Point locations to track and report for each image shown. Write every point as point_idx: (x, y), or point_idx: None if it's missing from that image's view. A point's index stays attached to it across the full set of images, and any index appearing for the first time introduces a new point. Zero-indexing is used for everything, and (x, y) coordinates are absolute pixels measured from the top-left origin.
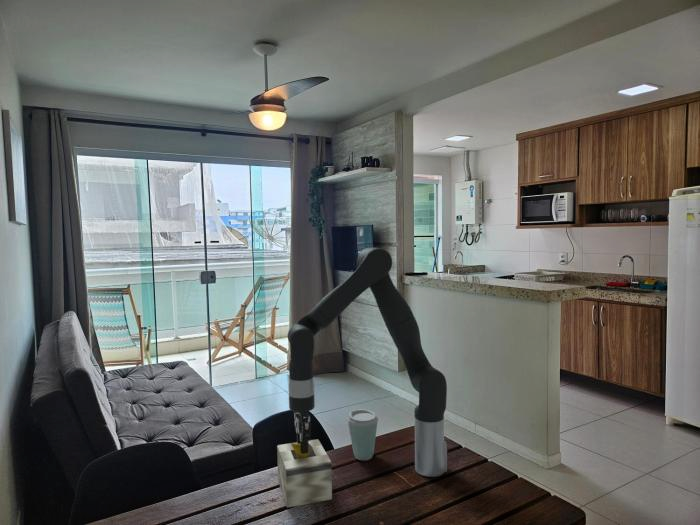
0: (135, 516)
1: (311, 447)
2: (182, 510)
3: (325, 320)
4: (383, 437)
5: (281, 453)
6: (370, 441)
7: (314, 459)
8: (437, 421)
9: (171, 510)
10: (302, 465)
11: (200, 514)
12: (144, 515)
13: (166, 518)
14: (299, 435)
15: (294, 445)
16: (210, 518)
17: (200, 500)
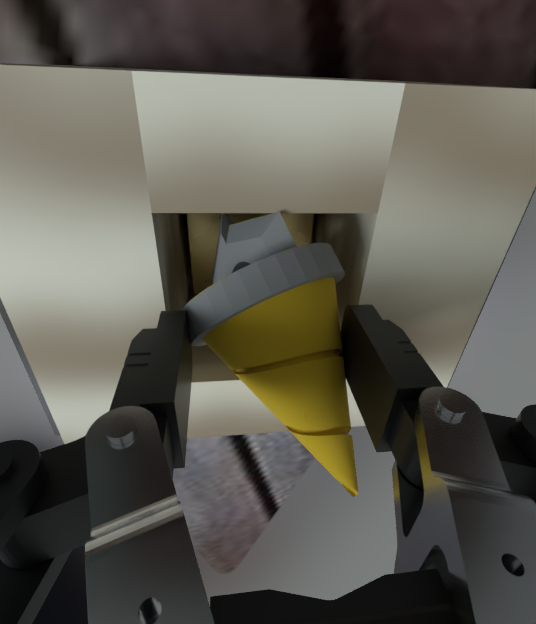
0: (231, 560)
1: (308, 267)
2: (241, 510)
3: None
4: None
5: (215, 431)
6: None
7: (428, 243)
8: None
9: (232, 524)
10: (457, 340)
11: (275, 483)
12: (234, 552)
13: (262, 526)
14: (184, 434)
15: (352, 455)
16: (304, 467)
17: (205, 490)
